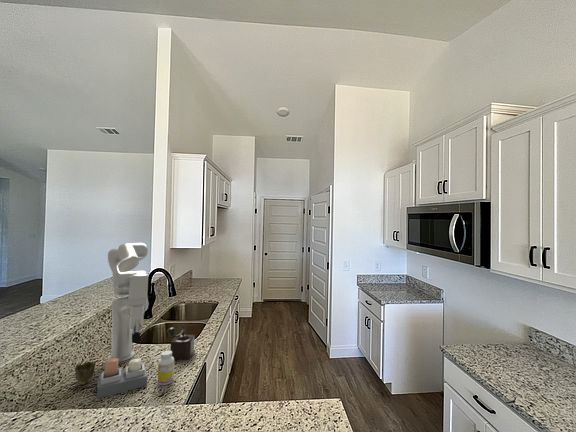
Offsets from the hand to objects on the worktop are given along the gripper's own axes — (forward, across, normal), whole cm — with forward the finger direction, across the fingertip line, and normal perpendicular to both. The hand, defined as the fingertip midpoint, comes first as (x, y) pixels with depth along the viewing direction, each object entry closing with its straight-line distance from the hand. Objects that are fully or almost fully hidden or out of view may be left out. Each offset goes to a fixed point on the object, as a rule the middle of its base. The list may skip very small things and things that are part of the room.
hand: (135, 341), depth 122 cm
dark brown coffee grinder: (+18, -12, +22) cm, 31 cm away
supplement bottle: (+18, +8, +12) cm, 23 cm away
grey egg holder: (+18, +1, -4) cm, 18 cm away
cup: (+18, -9, -19) cm, 28 cm away
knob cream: (+13, +1, 0) cm, 13 cm away
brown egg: (+11, +1, -9) cm, 14 cm away
